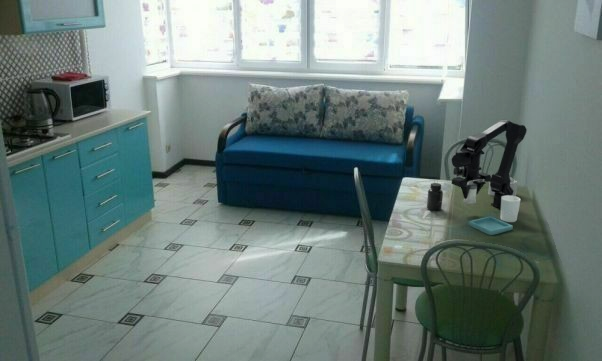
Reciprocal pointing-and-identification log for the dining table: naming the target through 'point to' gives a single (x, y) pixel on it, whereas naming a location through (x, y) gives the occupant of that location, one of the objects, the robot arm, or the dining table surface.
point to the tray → (490, 225)
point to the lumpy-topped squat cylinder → (512, 184)
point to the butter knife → (426, 214)
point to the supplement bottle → (435, 197)
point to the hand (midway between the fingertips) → (469, 197)
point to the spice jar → (471, 194)
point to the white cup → (509, 208)
